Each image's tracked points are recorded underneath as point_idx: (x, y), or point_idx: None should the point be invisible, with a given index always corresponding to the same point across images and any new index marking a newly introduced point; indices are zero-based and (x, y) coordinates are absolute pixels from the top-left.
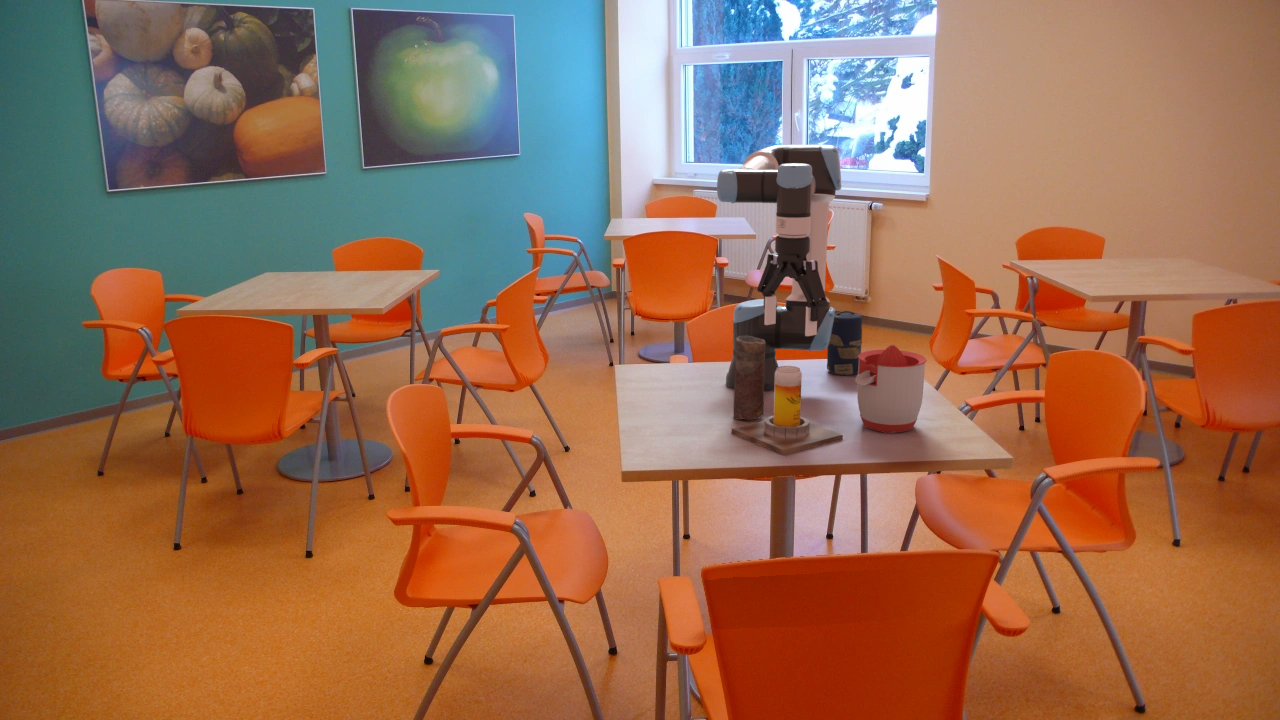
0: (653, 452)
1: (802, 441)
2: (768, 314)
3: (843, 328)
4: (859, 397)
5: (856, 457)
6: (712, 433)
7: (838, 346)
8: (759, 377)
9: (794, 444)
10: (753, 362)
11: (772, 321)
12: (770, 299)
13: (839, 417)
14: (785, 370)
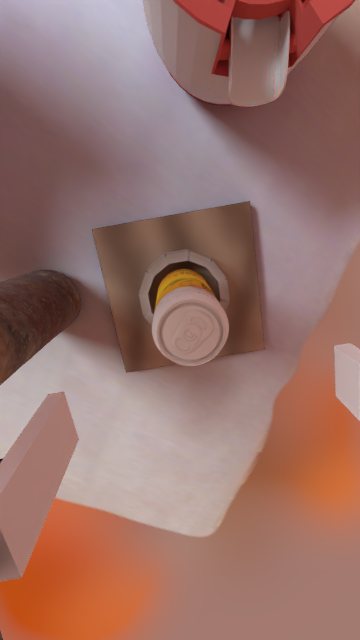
0: (160, 500)
1: (245, 296)
2: (60, 467)
3: None
4: (208, 91)
5: (336, 238)
6: (114, 395)
7: None
8: (46, 315)
9: (251, 318)
10: (29, 348)
11: (64, 415)
12: (20, 534)
13: (119, 110)
14: (196, 345)
